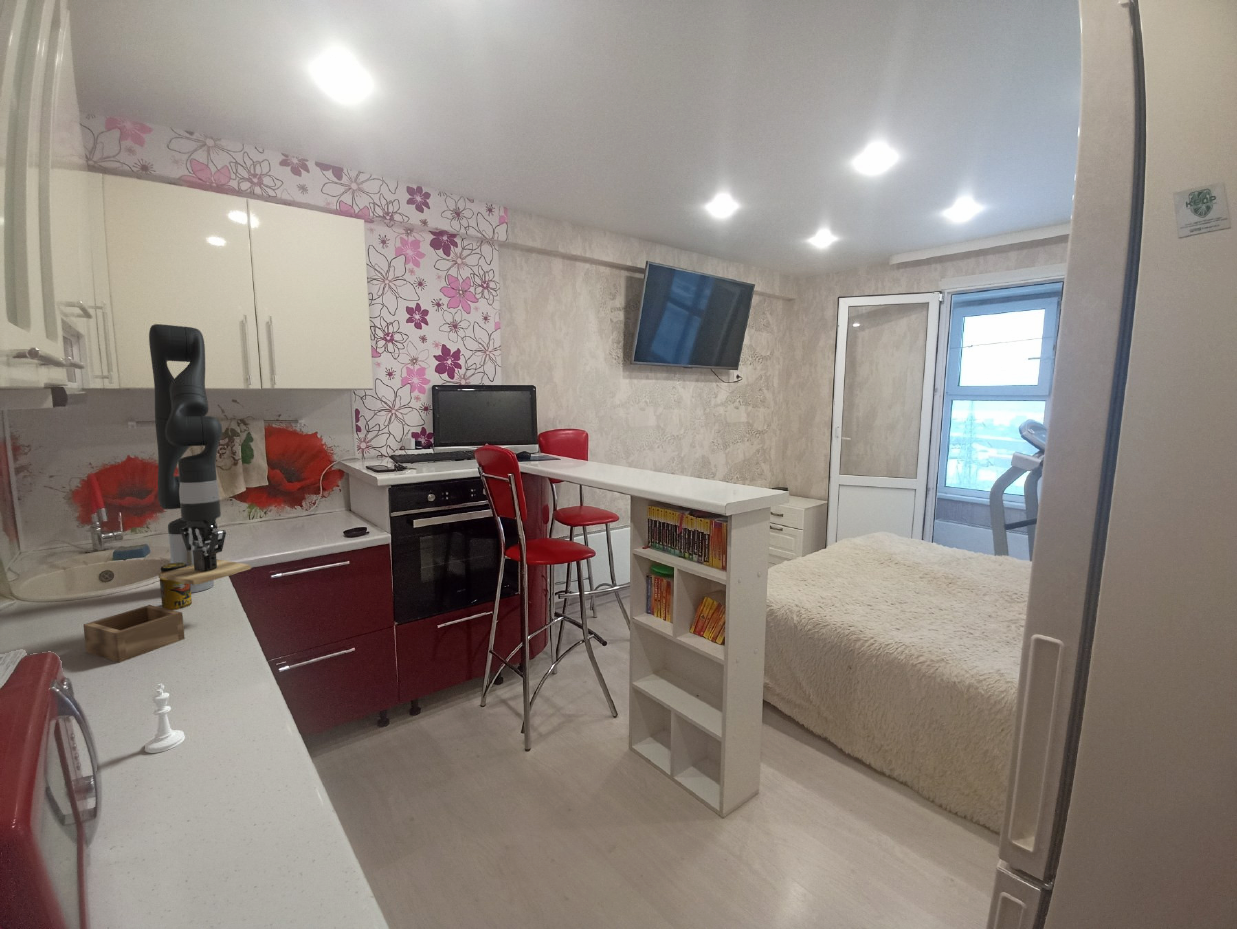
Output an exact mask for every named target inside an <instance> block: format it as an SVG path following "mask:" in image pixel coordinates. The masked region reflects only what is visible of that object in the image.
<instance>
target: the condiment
mask: <svg viewBox="0 0 1237 929" xmlns="http://www.w3.org/2000/svg"><path fill="white" fill-rule="evenodd" d="M184 567H187V564H186V563H181V562H180V563H171V564H170V563H167V564H164V565H162V566H161V567H160V573H164V572H168V571H172V570H176V569H180V568H184ZM159 584H160V596H161V597H160V598H161V608H165V609H169V610H174V611H177V610H181V609H184V608H187V607H190V606H191V605H192V604H193V601H192V600H193V599H192V593H191V588H190V584H187V583H182V582H177V581H172V580H167V579H162V578H159Z"/></svg>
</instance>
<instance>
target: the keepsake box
mask: <svg viewBox="0 0 1237 929" xmlns="http://www.w3.org/2000/svg"><path fill="white" fill-rule="evenodd" d="M83 633H84V642H85V652H86V653H88V654H90V655H93V656H96V657H101V658H103V659H107V660H109V661H113V662H115V663H120V664H121V663H123V662H126V661H128V660H131V659H133V658H136V657H139V656H142V655H144V654H147V653H150V652H152V651H155V650H159V649H161V648H164V647H166V646H170V645H172V644H174V643H177V642H180V641H183V640H185V639H186V638H185V626H184V616H183V612H181V611H177V610H169V609H165V608H162V606H160V607H159V606H157V605H151V604H148V605H144V606H142V607H137V608H135V609H131V610H128V611H124V612H121V613H118V614H113V615H111V616H107V617H104V618H101V619H97V620H94V621H91V622H86V623H83Z"/></svg>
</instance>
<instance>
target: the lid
mask: <svg viewBox="0 0 1237 929" xmlns="http://www.w3.org/2000/svg"><path fill="white" fill-rule="evenodd" d="M208 550H209V547H208ZM204 556H205V555H204V553H203V548H201V549H196V550H193V559H194V565H192V566H188V567H184V568H180V569H176V570H172V571H168V572H164V573H161V572H160V573H158V579H160V578H162V579H167V580H172V581H177V582H182V583H187V584H192V585H196V584H201V583H205V582H208V581H212V580H214V581H215V580H217V579H218V580H219V579H222V578H226V577H229V576H233V575H236V574H238V573H240V572H241V573H242V572H245V571H248V570H251V569H252V565H251V564H246V563H242V562H241V563H240V562H235V561H228V560H223V559H217V558H216V566H217V567H216V569H214V570H210V571H206V570H205V561H204Z"/></svg>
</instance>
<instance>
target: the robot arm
mask: <svg viewBox="0 0 1237 929" xmlns="http://www.w3.org/2000/svg"><path fill="white" fill-rule="evenodd" d="M148 343H149V344H148V345H149V352H150V360H151V367H152V368H151V369H152V373H153V374H152V375H153V384H154V421H155V422H154V423H155V435H156V441H157V443H156V444H157V460H158V461H157V462H158V463H157V464H158V466H157V498H158V503H159V505H160V506H161V508H162V509H163V510H176V509H177V510H179V509H180V516H181V517H179V518H177V519H174V520H173V521H171V522H169V523H168V526H167V532H168V541H169V542H168V543H169V554H170V558H169V564H171V563H180V562H181V563H186V564H187V567H188V566H192V565H194V559H193V550H196V549H201V548H203V553H204V555H205V556H204V561H205V570H206V571H210V570H214V569H216V567H217V566H216V559H217V554H218V553H221V552H223V548H224V544H225V539H226V535H227V531H226V530H225V529H223V530H222V529H221V530H220V529H219V528H218V524H217V521H216V520H217V519H218V518H220V517H221V513H222V512H221V500H220V488H219V484H218V479H217V465H216V464H217V463H216V461H217V455H218V450H219V445H220V442H221V438H222V436H223V426H222V424H221V422H220V421H219V419H218V418H216V417H214V416H210V415H208V413H209V402H208V397H207V392H206V384H205V383H206V346H205V339H204V336H203V333H202V332H201V330H199V329H198V328H196V327H192V326H181V325H171V324H170V325H169V324H160V323H159V324H158V323H154V324H153V325H151V326H150V328H149V332H148ZM168 362H183V363H188V365H186V367H185V368H184V369H183V370H181V371H180V372H179V373H178V375H176V377H174V375H172V372H171V371H170V369H169V367H168ZM206 415H207V416H206ZM201 446H204V448H203V450H202V451H201V452H200V453H196V454H193V455H188V456H184V454H185V453H186V452H187V451H188V450H189V448H190V447H201ZM183 456H184V457H183ZM177 466H178V467H177ZM176 468H177V469H178V475H175V471H176ZM208 547H209V550H208ZM214 581H215V580H212V581H208V582H205V583H201V584H196V585H192V584H190V588H191V594H192V593H197V592H202V591H205V590H208V589H210V588H213V587H214V585H215V583H214Z"/></svg>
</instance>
